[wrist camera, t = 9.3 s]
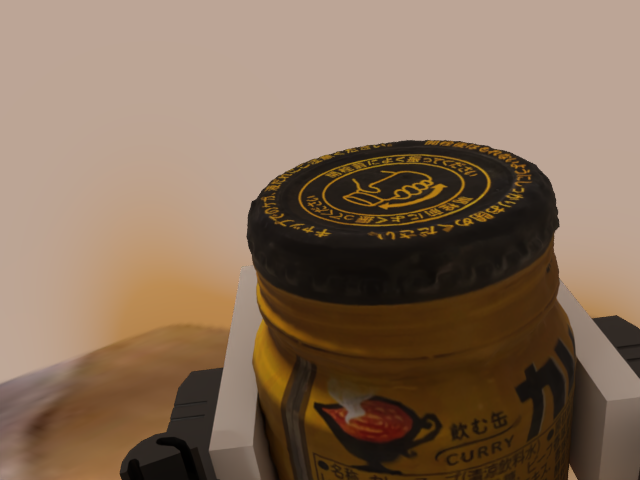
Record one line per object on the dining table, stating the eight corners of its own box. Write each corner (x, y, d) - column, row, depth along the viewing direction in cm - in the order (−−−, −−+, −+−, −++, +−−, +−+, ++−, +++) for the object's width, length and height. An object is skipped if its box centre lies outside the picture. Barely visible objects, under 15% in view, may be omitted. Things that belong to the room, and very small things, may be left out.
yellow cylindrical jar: (334, 491, 19) (270, 131, 14) (622, 521, 17) (675, 103, 12) (261, 765, 13) (96, 300, 8) (705, 873, 11) (898, 312, 5)
